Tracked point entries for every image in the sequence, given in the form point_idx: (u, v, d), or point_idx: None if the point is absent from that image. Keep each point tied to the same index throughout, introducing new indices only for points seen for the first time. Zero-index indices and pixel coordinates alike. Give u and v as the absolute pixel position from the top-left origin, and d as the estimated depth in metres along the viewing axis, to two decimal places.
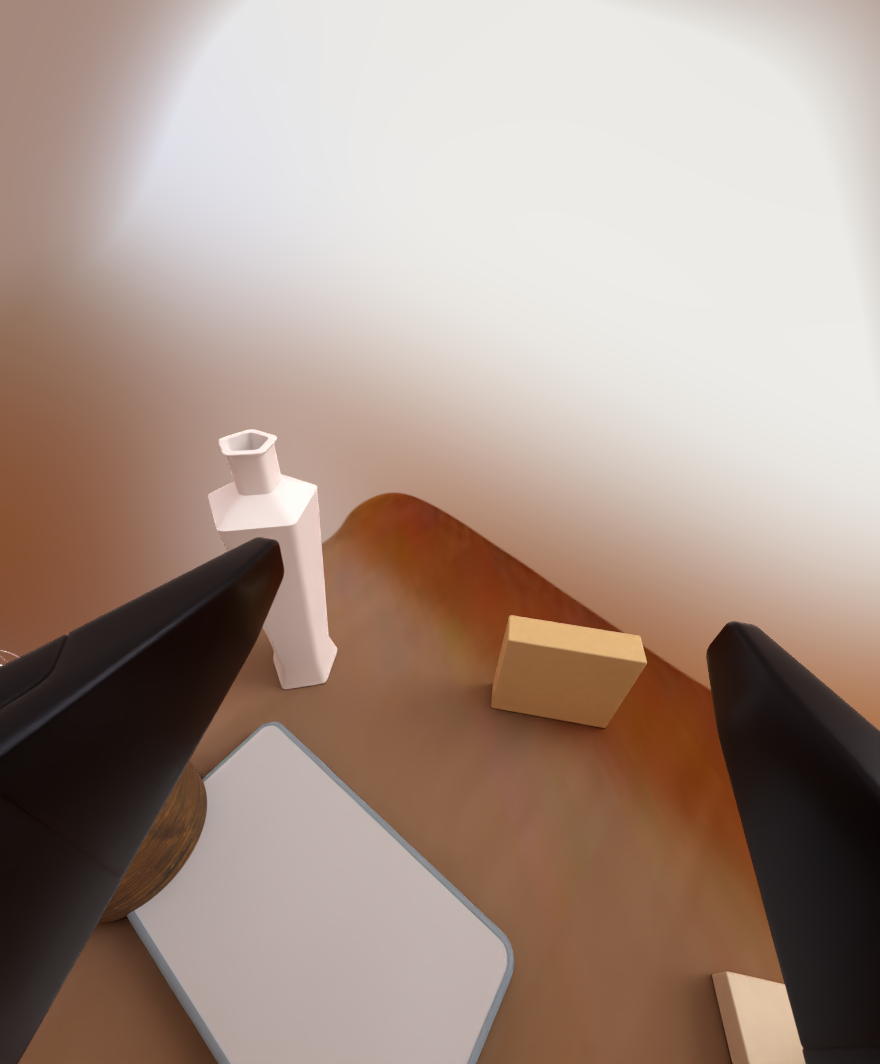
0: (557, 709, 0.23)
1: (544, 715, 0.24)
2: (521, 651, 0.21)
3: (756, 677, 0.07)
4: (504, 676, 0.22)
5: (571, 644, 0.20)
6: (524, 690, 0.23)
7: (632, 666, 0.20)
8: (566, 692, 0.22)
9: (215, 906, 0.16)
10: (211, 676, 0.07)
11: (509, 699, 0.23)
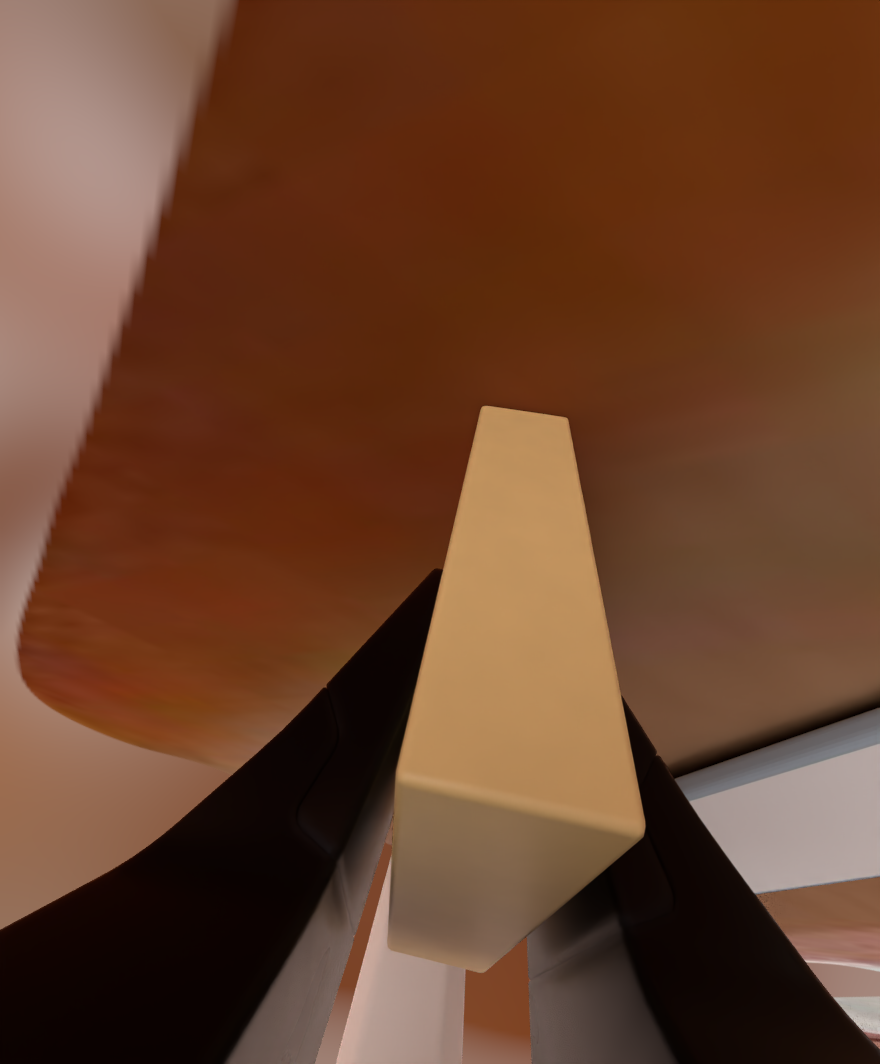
0: None
1: None
2: None
3: None
4: None
5: (496, 934, 0.05)
6: None
7: None
8: None
9: None
10: None
11: None
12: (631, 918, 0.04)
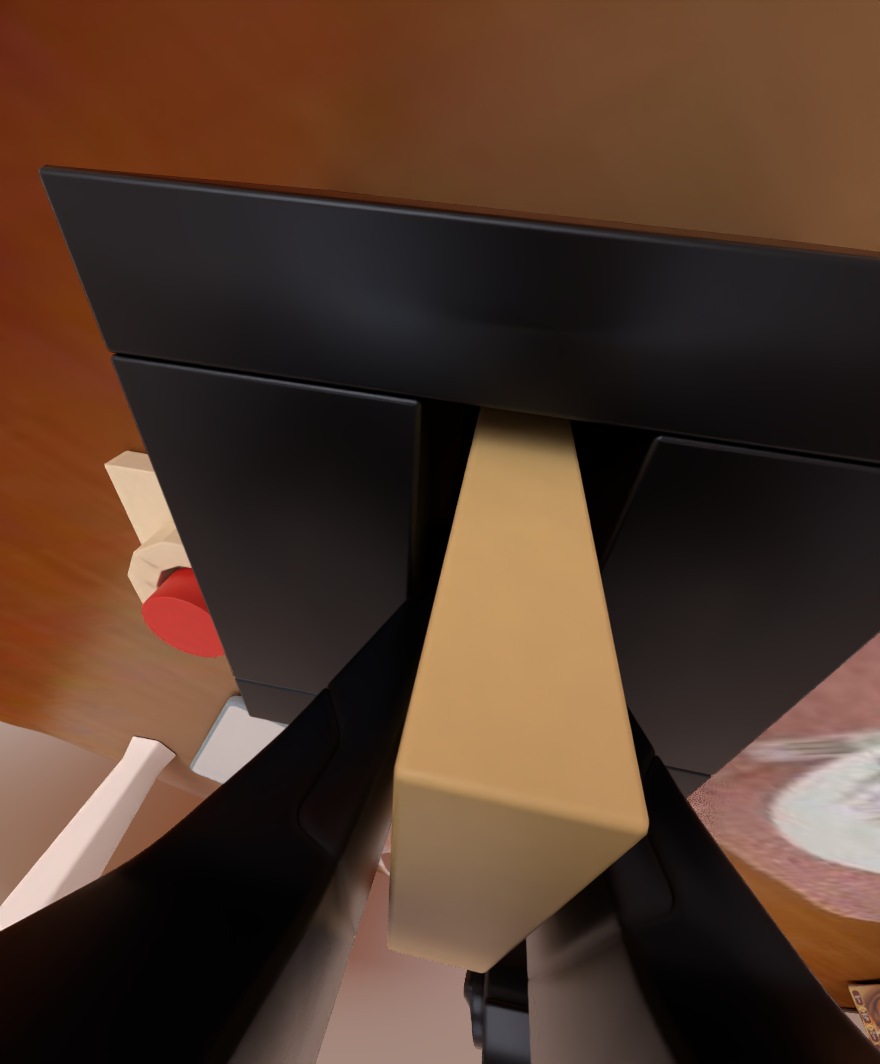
0: None
1: None
2: None
3: None
4: None
5: (497, 934, 0.05)
6: None
7: None
8: None
9: None
10: None
11: None
12: (629, 917, 0.04)
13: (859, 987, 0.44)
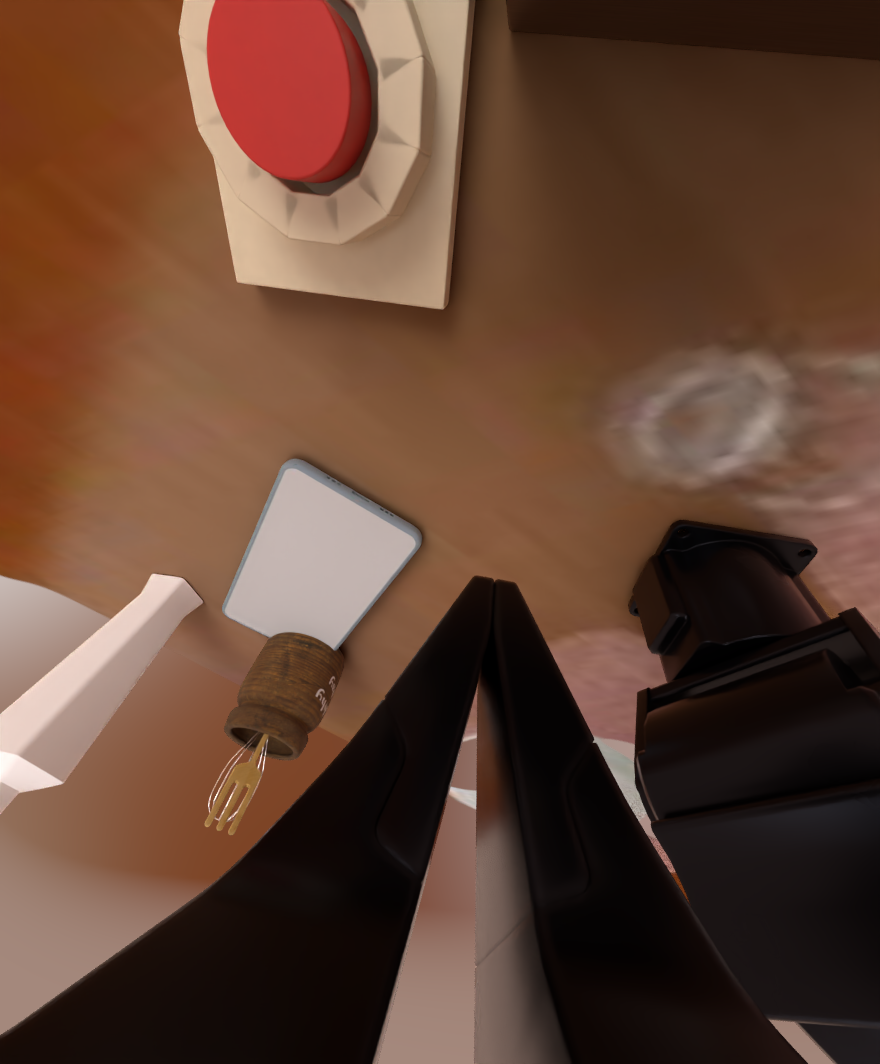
0: None
1: None
2: None
3: (490, 627, 0.07)
4: None
5: None
6: None
7: None
8: None
9: (321, 620, 0.28)
10: (465, 728, 0.07)
11: None
12: (543, 897, 0.04)
13: None
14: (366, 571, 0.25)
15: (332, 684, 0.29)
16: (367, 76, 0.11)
